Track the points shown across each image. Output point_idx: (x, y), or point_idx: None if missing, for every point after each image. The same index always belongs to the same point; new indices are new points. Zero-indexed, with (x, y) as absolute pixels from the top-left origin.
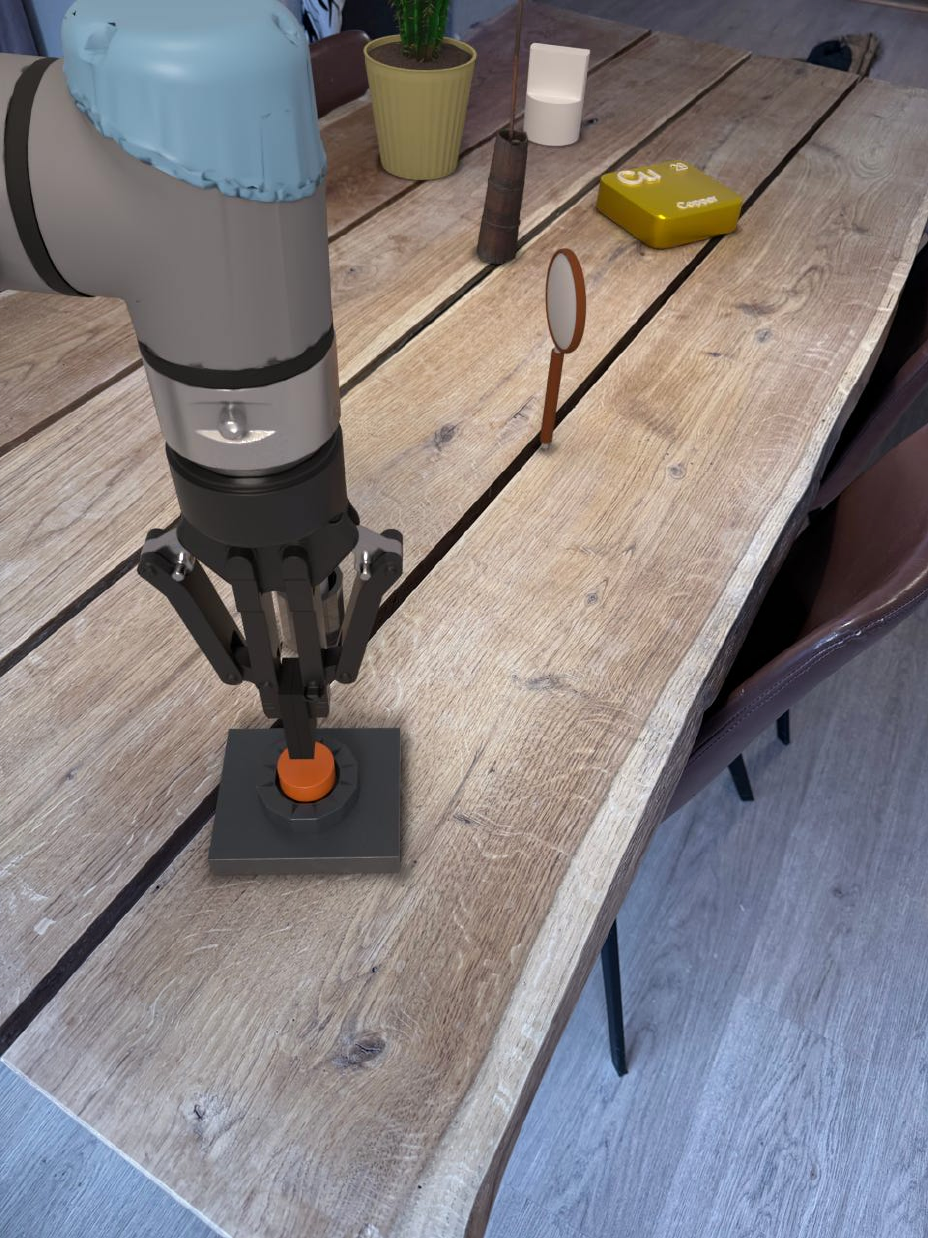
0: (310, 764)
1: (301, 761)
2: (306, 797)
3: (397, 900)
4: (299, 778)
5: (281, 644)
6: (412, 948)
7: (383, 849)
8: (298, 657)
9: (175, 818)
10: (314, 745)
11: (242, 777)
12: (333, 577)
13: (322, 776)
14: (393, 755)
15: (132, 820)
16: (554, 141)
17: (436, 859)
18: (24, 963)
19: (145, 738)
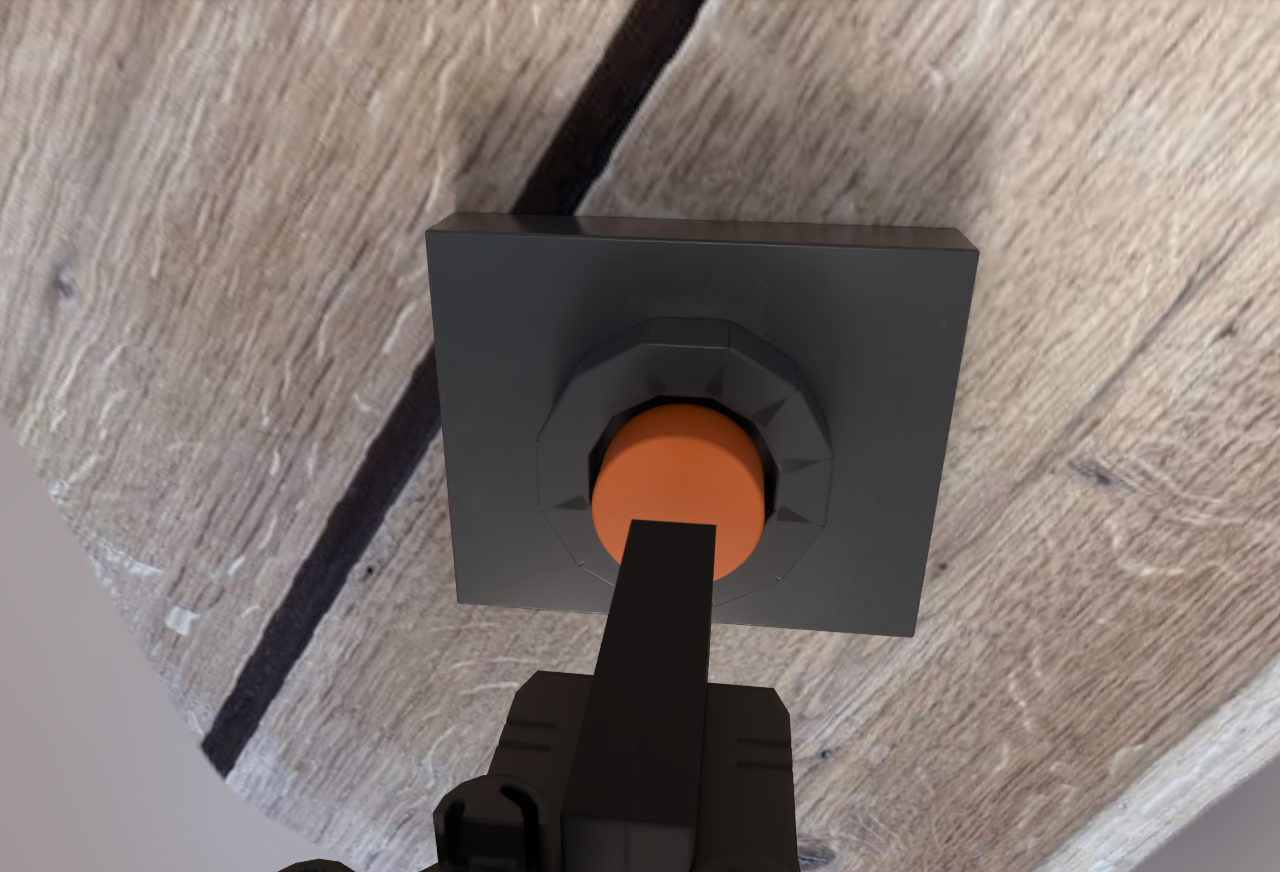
0: (691, 517)
1: (663, 506)
2: None
3: (888, 642)
4: None
5: (544, 833)
6: (907, 729)
7: (876, 618)
8: (644, 827)
9: (358, 419)
10: (710, 631)
11: (497, 399)
12: None
13: (729, 559)
14: (941, 353)
15: (261, 418)
16: None
17: (997, 566)
18: (179, 677)
19: (201, 172)
